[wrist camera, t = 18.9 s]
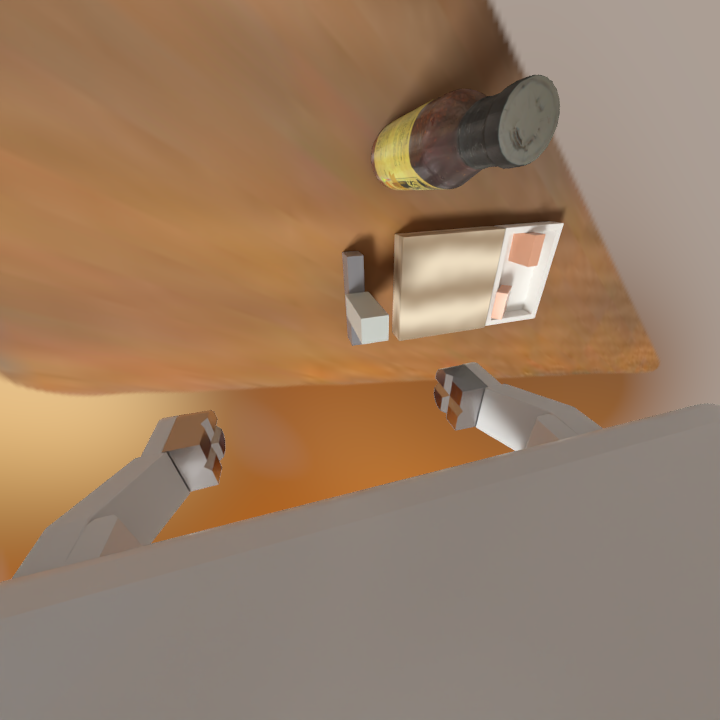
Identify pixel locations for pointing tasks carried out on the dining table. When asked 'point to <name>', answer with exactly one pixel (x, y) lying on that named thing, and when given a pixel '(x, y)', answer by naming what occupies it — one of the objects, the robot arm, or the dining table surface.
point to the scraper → (362, 304)
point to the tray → (524, 272)
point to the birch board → (444, 280)
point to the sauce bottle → (466, 135)
